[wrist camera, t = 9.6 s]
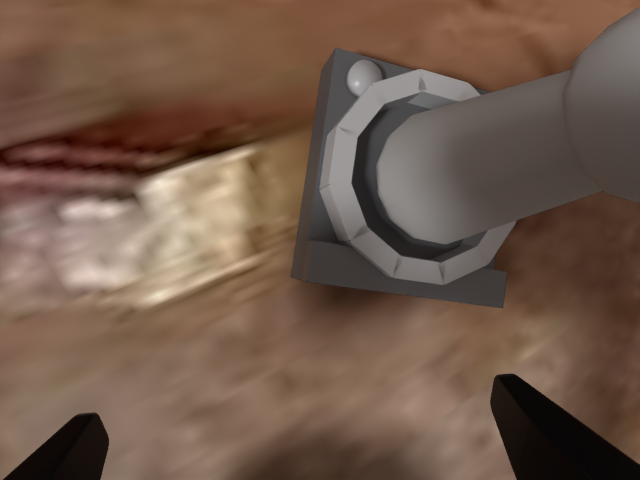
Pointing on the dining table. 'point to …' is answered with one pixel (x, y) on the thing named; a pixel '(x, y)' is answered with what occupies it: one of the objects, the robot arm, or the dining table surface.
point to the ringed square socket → (362, 192)
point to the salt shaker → (520, 146)
